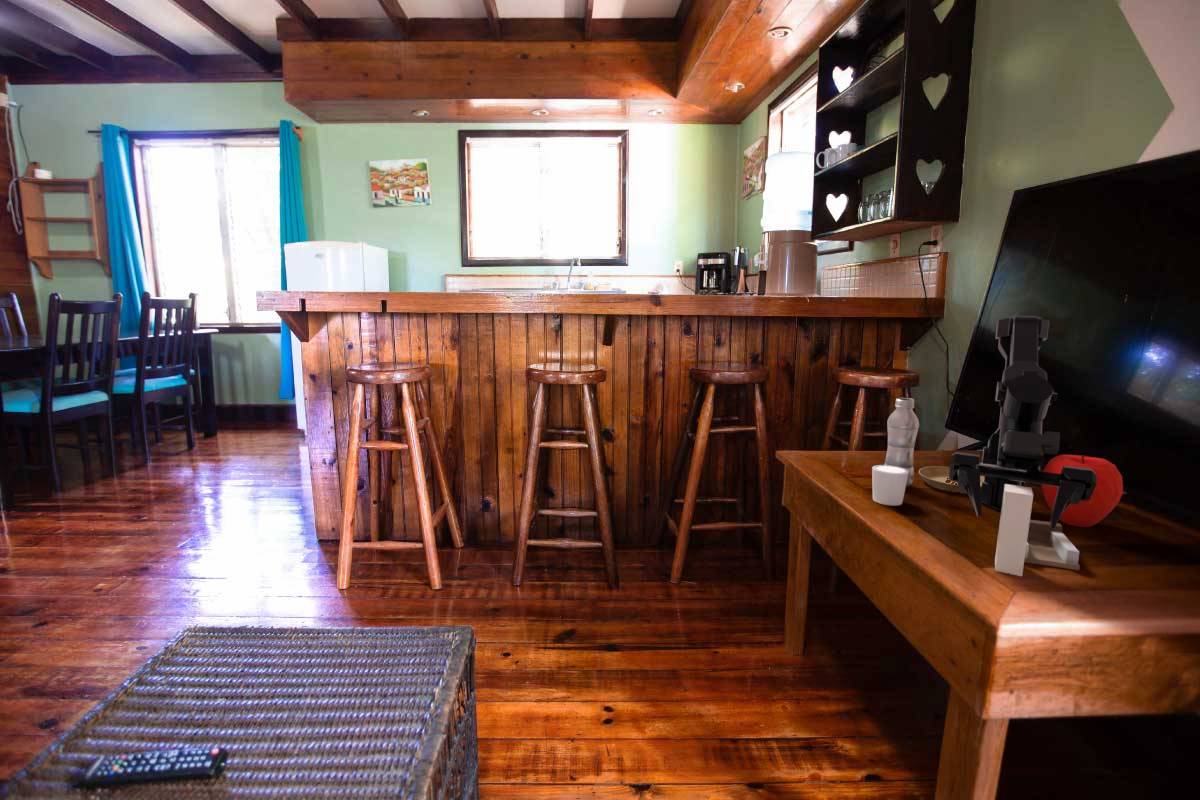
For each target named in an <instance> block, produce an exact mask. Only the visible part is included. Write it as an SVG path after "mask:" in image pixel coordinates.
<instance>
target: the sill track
mask: <svg viewBox="0 0 1200 800" xmlns="http://www.w3.org/2000/svg"><path fill="white" fill-rule="evenodd" d="M1079 559H1080V551H1079V549H1078V548H1076V546H1075V545H1074V544H1073V543H1072V542H1071V541H1070V540H1069V539H1068V537H1067V536H1066V534H1064V533H1063V526H1062V525H1061V523H1058V522H1057V524H1056V526H1055V528H1054V530H1050V521H1042V520H1037V519H1036V520H1034V519H1030V523H1029V530H1028V537H1027V545H1026V552H1025V559H1024V563H1027V564H1036V565H1042V566H1048V567H1054V568H1055V567H1056V568H1063V569H1068V570H1073V571H1080V567H1081V565H1080V564H1079Z"/></svg>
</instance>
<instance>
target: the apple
mask: <svg viewBox="0 0 1200 800" xmlns="http://www.w3.org/2000/svg"><path fill="white" fill-rule="evenodd" d="M1063 465H1064V466H1072V467H1080V468H1088V469H1092V470H1093V471H1094V472H1095V473H1096V474H1097V485H1096V487H1095V489H1094V491H1093V494H1092V496H1091V498H1090V500H1088V501H1080V502H1079V503H1078V504H1069V506H1068V507H1067V508H1066V509H1065V510H1064V512H1063V513H1062V515H1061V516H1060V518H1059V520H1058V521H1060V522H1062V523H1064V525H1065V524H1066V525H1068V526H1073V527H1077V528H1078V527H1079V528H1089V527H1093V526H1095V525H1096V524H1097V525H1098V523H1099V522H1101V521H1102V520H1103V519H1105V518H1106V517H1107V516H1108V515H1109V514H1110V513H1111V512H1112V511H1113V510H1114V508H1115V507H1116V506H1117V505H1118V503H1119V502H1120V500H1121V497H1122V495H1124V485H1123V476H1122V474H1121V473H1120V471H1119V469H1118V468H1117V466H1116V464H1113V463H1112V462H1110V461H1109V460H1107V459H1105V458H1101V457H1100V458H1099V457H1091V456H1086V455H1084V454H1082V455H1079V454H1078V455H1077V454H1059V455H1055V457H1053V458H1051V459H1050V460H1049V461H1048V462H1047V464H1046V465H1045V468H1043V471H1042V472H1049V473H1056V474H1061V471H1062V468H1063ZM1040 485H1041V489H1042V492H1043V497H1044V500H1045V502H1046V504H1047V505H1048V507H1049V509H1050V510H1051V511H1052V510H1053V505H1054V500H1055V497H1056V494H1057V486H1050V485H1043V484H1040Z"/></svg>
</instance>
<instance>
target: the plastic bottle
mask: <svg viewBox="0 0 1200 800" xmlns="http://www.w3.org/2000/svg"><path fill="white" fill-rule="evenodd" d="M894 407H895V410H894V411H893V412H892V413H890V415H889V416H888V419H887V422H886V425H887V450H886V456H885V460H884V464H883V465H890V466H897V467H901V468H904V469H906V470H908V471H909V473H908V478H907V483H906V487H909V486H911V484H912V483H913V482H914V478H915V469H914V452H915V451H914V450H915V443H916V439H917V435H918V432H919V428H920V422H919V421H920V420H919V418H918V416H917V414H916V413H915V412H914V410H913V409H915V399H914V398H909V397H897V398H896V399H895V404H894Z"/></svg>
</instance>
